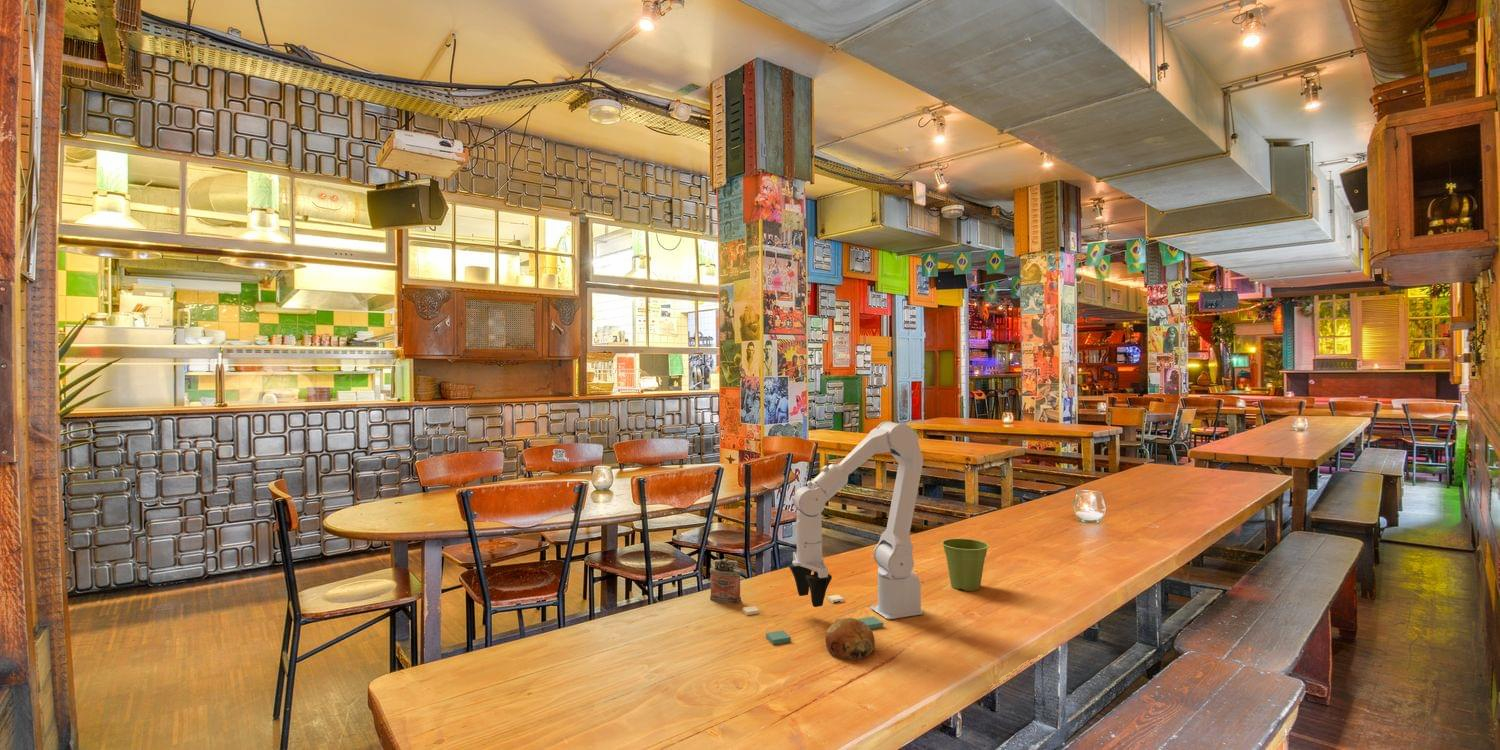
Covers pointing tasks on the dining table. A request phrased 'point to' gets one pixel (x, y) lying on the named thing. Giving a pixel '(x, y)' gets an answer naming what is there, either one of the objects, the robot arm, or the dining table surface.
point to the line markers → (783, 637)
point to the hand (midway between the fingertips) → (810, 600)
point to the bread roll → (850, 639)
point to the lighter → (725, 582)
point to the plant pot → (965, 562)
